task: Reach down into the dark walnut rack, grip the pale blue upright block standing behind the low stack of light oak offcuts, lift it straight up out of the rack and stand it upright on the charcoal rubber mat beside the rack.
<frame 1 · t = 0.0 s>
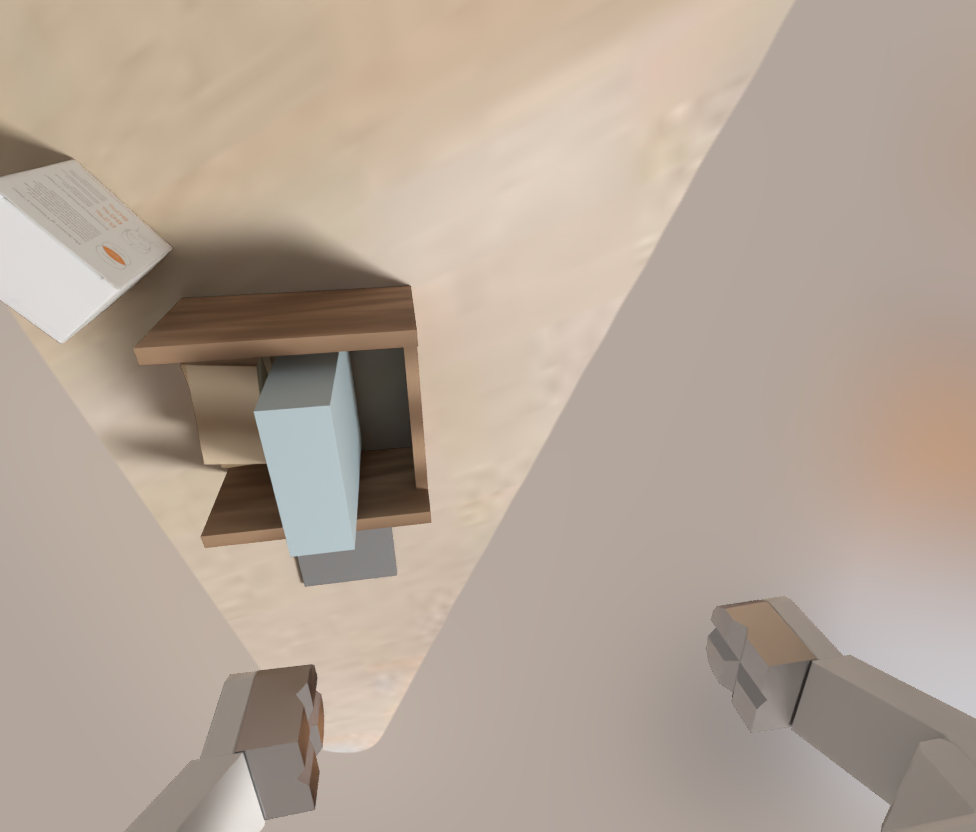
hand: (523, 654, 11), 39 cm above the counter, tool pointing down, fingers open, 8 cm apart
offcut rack: (316, 385, 49), on the counter
pale blue upright block: (328, 384, 50), resting in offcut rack
offcut stack: (247, 389, 49), resting in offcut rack
rubber mat: (343, 529, 58), on the counter
small box: (104, 228, 41), on the counter
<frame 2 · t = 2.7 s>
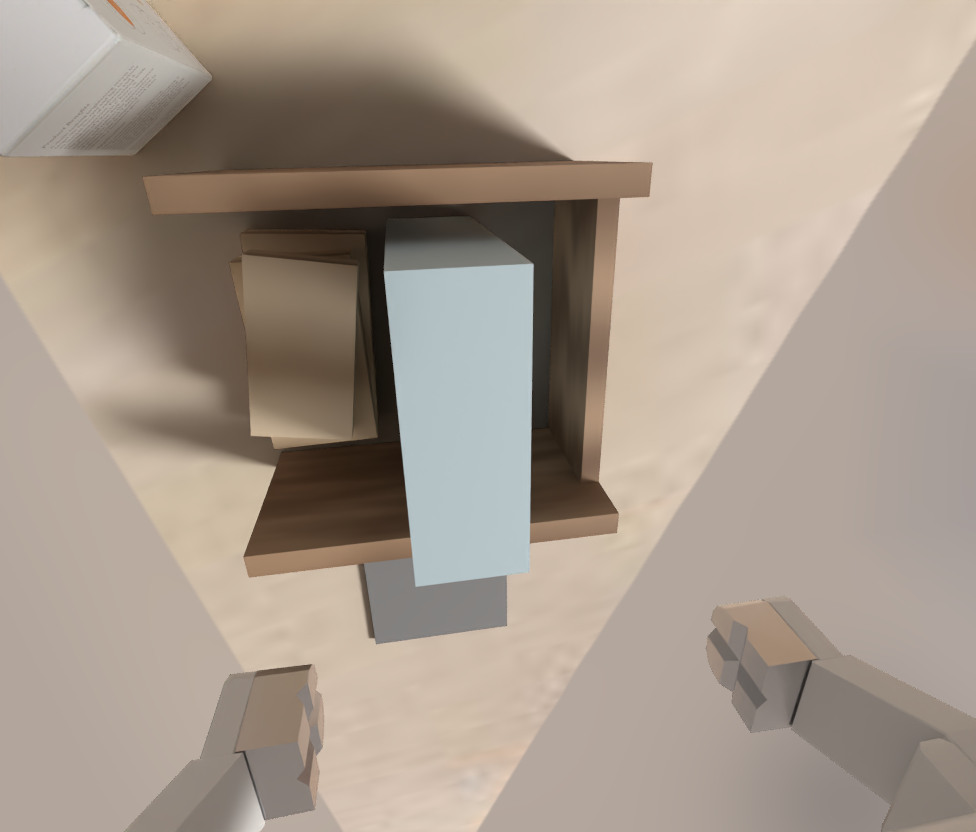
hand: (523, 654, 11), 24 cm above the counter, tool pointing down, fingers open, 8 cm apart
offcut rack: (418, 326, 32), on the counter
pale blue upright block: (435, 325, 32), resting in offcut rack
offcut stack: (319, 329, 32), resting in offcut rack
rubber mat: (436, 557, 40), on the counter
small box: (103, 40, 25), on the counter
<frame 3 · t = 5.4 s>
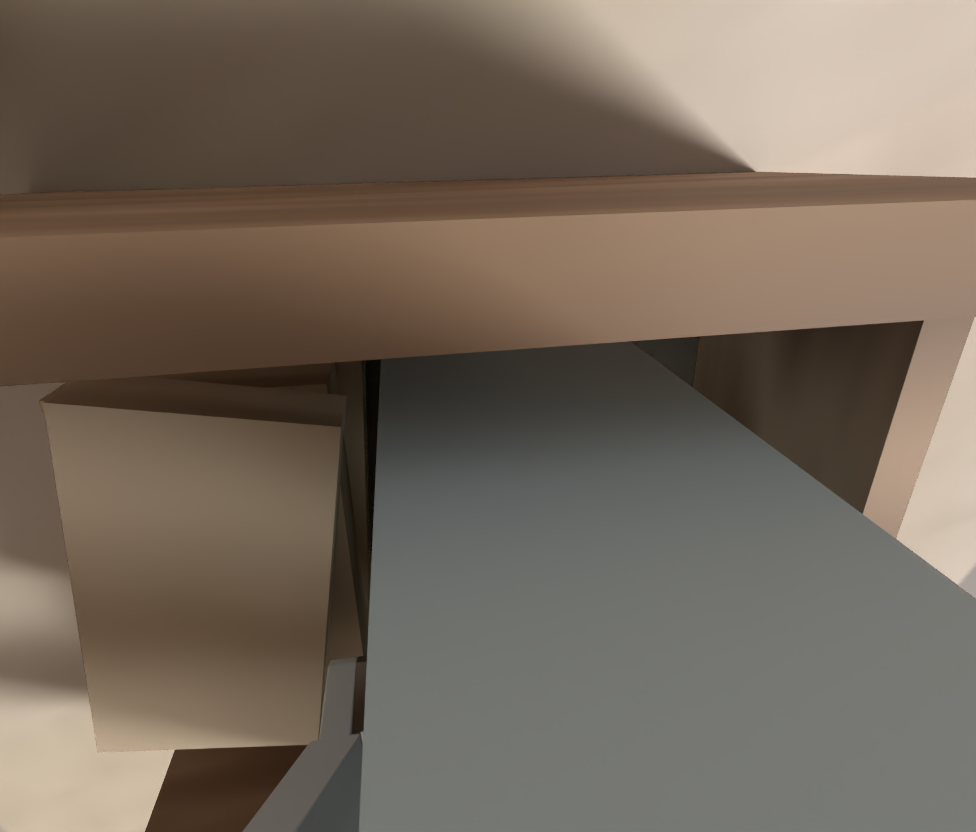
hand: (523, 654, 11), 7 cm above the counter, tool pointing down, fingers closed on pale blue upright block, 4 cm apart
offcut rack: (443, 478, 17), on the counter
pale blue upright block: (475, 475, 18), resting in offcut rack, touching gripper
offcut stack: (267, 485, 17), resting in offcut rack
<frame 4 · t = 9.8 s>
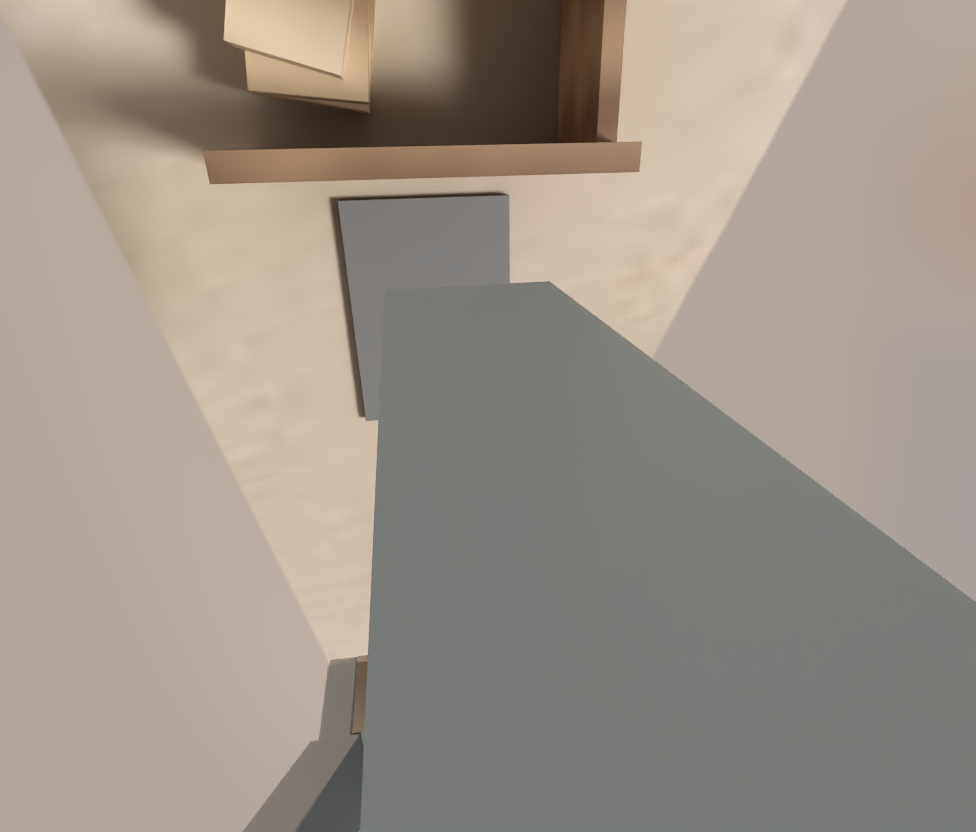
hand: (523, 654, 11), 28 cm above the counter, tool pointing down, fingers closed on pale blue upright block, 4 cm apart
pale blue upright block: (475, 476, 18), point 20 cm above the counter, touching gripper
rubber mat: (432, 313, 36), on the counter
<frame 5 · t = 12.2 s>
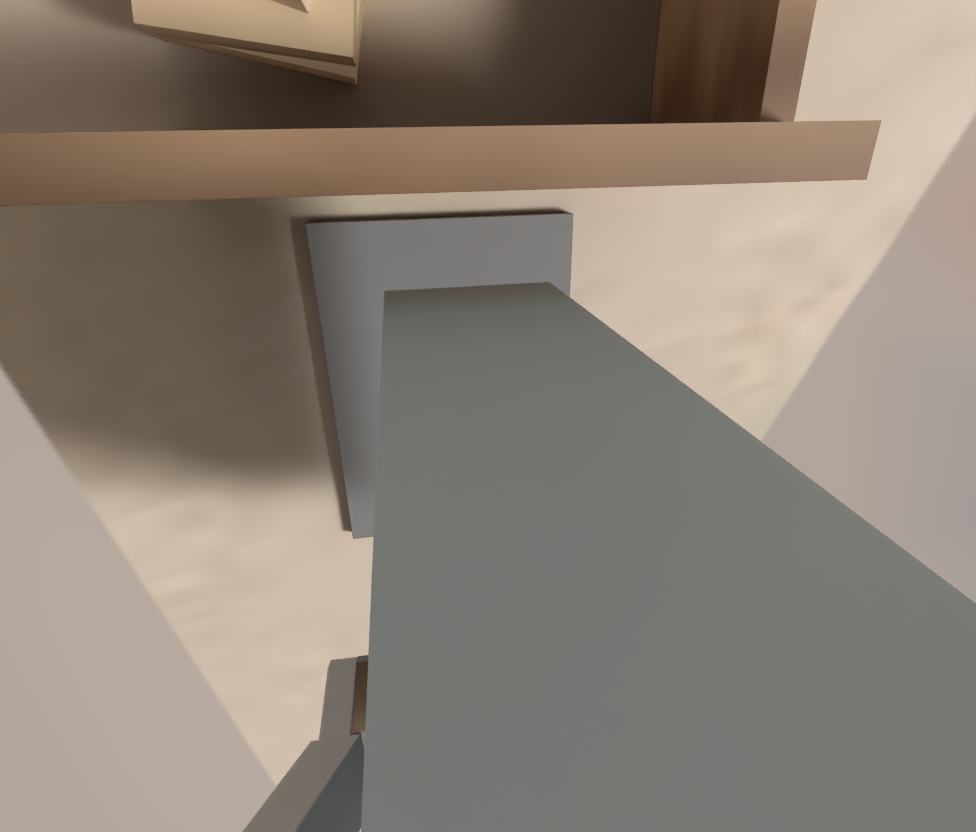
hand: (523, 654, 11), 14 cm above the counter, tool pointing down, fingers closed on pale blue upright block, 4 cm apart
pale blue upright block: (475, 476, 18), point 7 cm above the counter, touching gripper
rubber mat: (451, 387, 24), on the counter
when the fingers open (9 cm above the counter, at t = 14.1 s): pale blue upright block drops 1 cm, resting on rubber mat.
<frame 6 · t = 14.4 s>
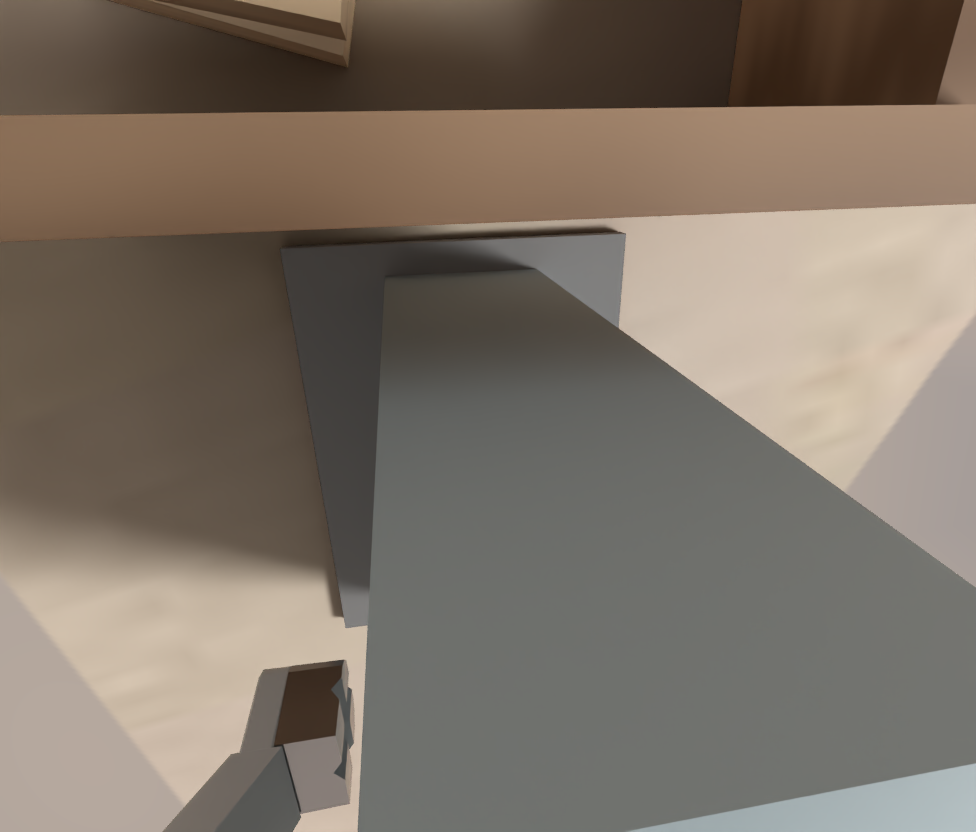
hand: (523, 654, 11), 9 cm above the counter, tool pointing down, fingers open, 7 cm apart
pale blue upright block: (469, 451, 19), resting on rubber mat
rubber mat: (467, 447, 19), on the counter
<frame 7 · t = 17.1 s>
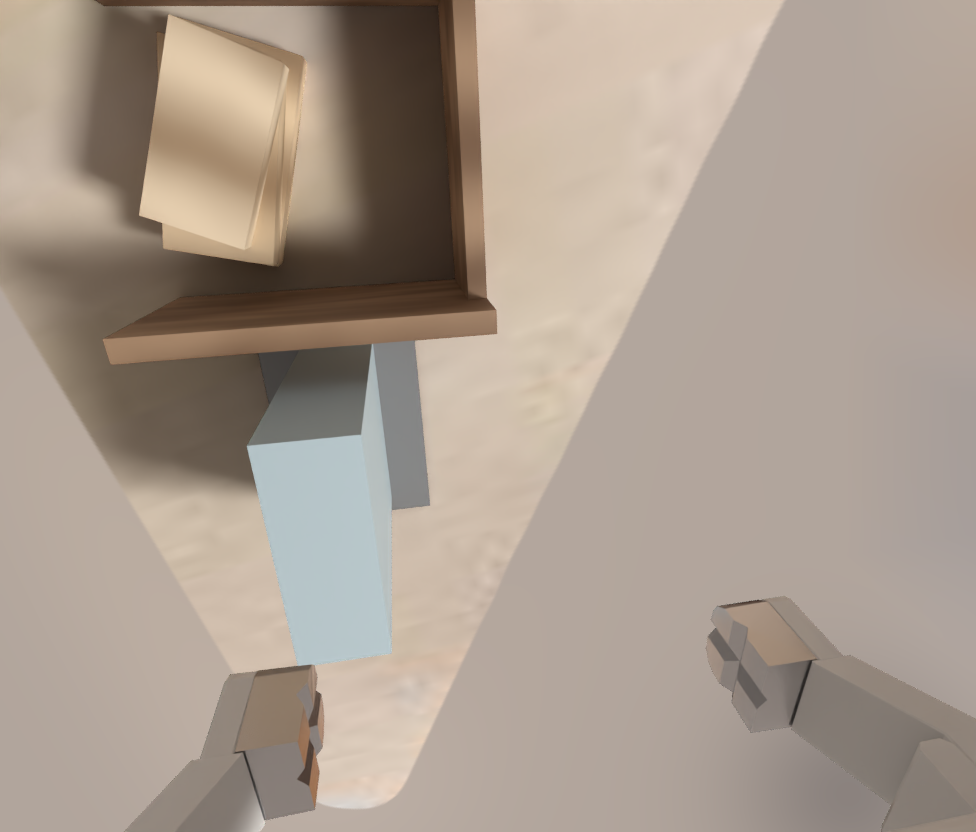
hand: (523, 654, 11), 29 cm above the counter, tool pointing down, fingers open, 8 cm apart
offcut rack: (310, 159, 32), on the counter
pale blue upright block: (349, 426, 38), resting on rubber mat
offcut stack: (240, 154, 32), resting in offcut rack
rubber mat: (350, 425, 39), on the counter
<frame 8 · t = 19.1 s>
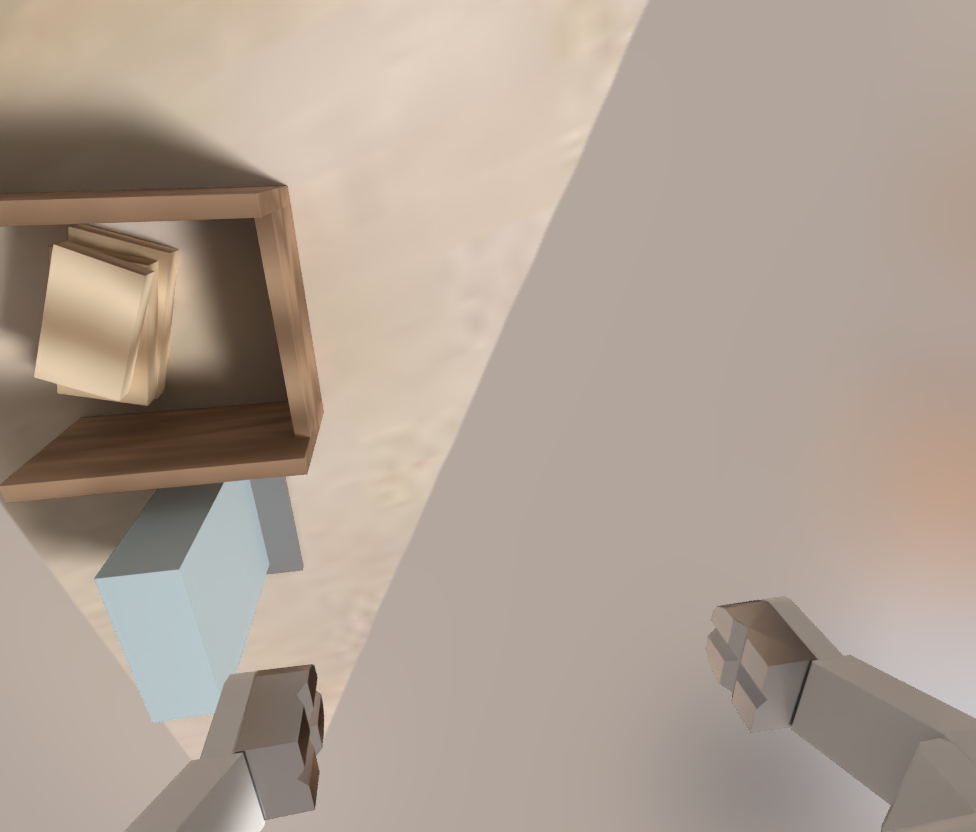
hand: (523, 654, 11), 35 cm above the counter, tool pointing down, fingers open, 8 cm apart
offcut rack: (180, 316, 41), on the counter
pale blue upright block: (229, 511, 47), resting on rubber mat
offcut stack: (127, 312, 40), resting in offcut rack
rubber mat: (230, 509, 48), on the counter
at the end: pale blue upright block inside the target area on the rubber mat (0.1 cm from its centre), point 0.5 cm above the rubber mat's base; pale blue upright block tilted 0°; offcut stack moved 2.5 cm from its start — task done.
